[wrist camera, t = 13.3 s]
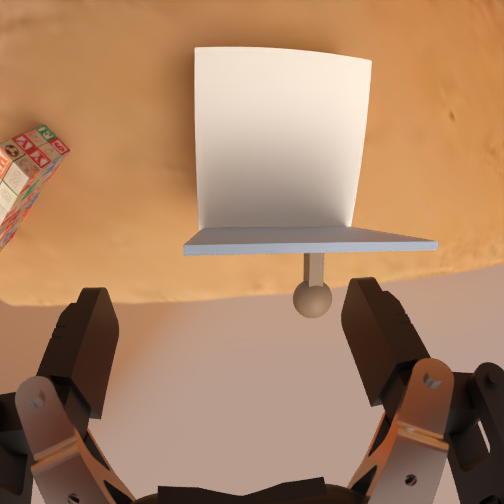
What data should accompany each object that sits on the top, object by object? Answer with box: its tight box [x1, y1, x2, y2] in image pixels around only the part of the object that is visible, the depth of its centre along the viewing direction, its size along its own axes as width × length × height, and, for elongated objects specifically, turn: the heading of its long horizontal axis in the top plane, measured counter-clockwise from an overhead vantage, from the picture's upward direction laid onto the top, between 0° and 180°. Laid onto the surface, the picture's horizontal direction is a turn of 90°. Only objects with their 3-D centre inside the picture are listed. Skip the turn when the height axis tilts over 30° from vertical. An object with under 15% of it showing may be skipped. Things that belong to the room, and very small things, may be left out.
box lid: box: [183, 227, 438, 318], centre depth 28 cm, size 18×17×6 cm
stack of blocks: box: [0, 125, 70, 251], centre depth 36 cm, size 21×6×12 cm, turn 130°
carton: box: [195, 47, 372, 229], centre depth 36 cm, size 20×18×10 cm
